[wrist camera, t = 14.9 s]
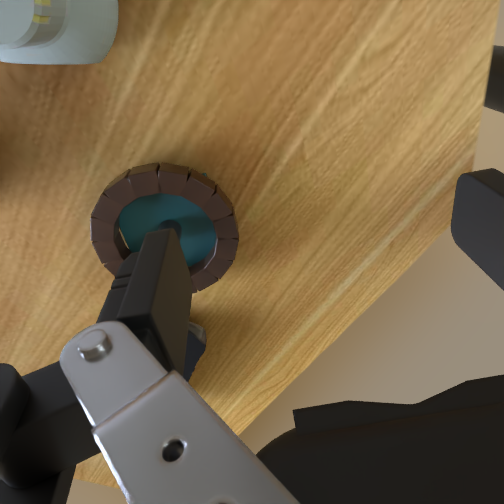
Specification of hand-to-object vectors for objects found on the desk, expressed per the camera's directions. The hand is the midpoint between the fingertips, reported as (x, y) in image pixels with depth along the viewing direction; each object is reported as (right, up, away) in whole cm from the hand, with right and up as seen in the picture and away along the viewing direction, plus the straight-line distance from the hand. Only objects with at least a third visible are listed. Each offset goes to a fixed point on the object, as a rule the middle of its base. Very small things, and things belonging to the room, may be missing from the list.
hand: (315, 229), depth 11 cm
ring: (-11, +2, +28) cm, 30 cm away
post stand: (-10, +2, +29) cm, 31 cm away
